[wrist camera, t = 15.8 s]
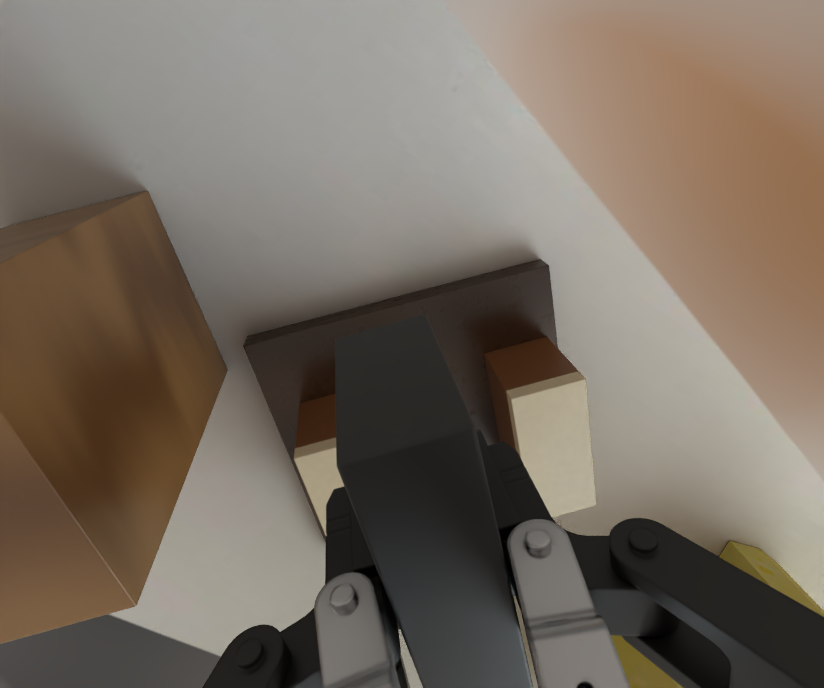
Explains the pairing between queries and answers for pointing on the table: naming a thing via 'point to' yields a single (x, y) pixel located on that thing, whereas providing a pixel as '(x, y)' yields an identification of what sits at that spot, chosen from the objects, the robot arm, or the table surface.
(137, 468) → the stand
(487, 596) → the knife
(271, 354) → the board
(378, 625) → the robot arm
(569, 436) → the slice
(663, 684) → the cheese
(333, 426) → the cream-faced brown block
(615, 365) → the table surface
